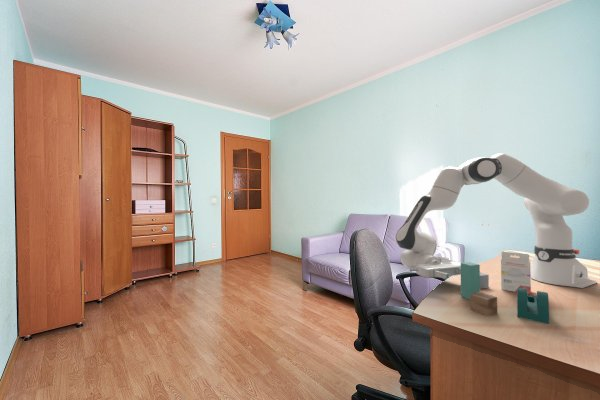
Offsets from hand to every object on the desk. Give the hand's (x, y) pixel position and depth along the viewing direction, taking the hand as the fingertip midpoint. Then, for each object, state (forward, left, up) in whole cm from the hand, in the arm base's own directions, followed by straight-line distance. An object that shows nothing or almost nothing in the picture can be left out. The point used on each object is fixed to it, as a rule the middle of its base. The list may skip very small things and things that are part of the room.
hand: (457, 275), depth 97 cm
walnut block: (+6, +15, -7) cm, 18 cm away
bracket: (-9, +19, -7) cm, 22 cm away
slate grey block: (-14, -4, -7) cm, 16 cm away
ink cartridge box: (-23, +4, -7) cm, 24 cm away
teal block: (0, +5, -6) cm, 8 cm away
